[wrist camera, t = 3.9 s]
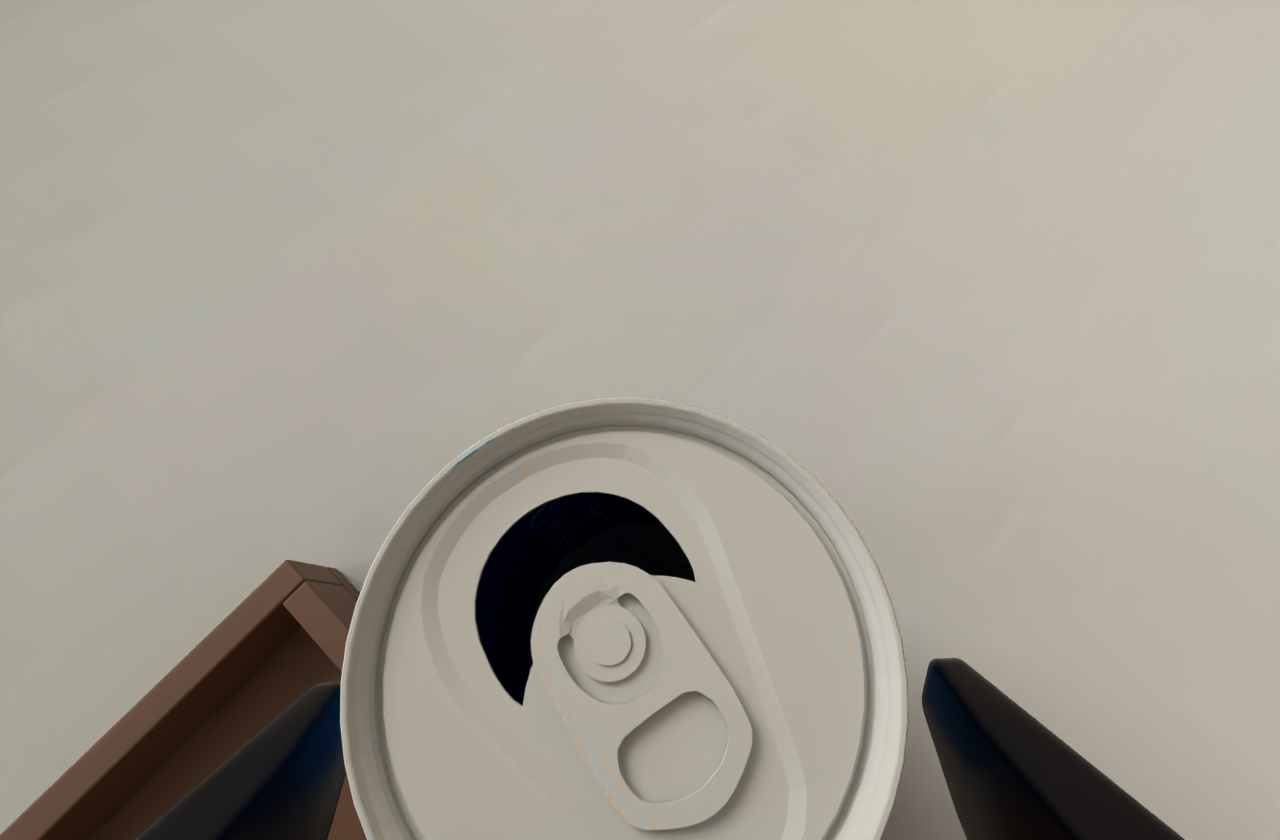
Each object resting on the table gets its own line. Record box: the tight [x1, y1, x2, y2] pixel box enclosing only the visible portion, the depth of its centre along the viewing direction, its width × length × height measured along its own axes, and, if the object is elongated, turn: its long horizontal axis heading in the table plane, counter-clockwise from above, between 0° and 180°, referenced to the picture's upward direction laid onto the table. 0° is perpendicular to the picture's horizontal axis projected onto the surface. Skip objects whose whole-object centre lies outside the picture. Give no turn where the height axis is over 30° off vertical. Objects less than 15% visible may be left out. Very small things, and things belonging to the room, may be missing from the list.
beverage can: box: [340, 397, 908, 840], centre depth 12 cm, size 6×6×12 cm
